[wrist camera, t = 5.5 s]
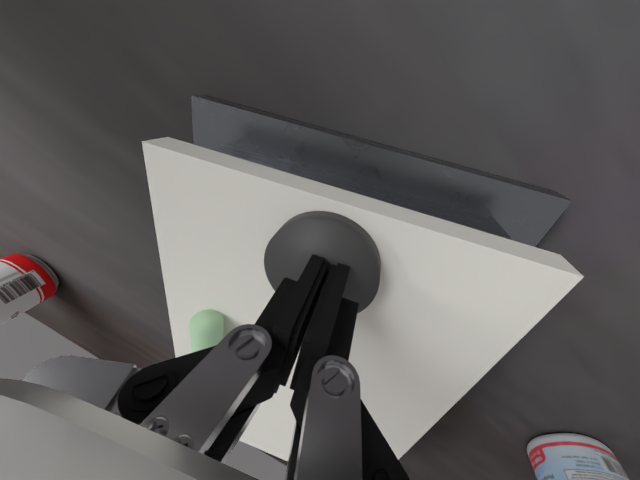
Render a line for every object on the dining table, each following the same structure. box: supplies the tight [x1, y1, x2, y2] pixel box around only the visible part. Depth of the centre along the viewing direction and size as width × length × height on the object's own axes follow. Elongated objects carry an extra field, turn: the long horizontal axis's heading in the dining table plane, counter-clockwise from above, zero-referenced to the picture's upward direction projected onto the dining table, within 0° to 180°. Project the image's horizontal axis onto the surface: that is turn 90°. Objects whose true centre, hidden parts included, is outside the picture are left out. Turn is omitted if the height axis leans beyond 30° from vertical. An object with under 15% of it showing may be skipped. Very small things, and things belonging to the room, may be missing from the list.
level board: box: [142, 137, 584, 461], centre depth 17 cm, size 26×18×3 cm
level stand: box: [191, 95, 572, 247], centre depth 20 cm, size 29×21×5 cm
